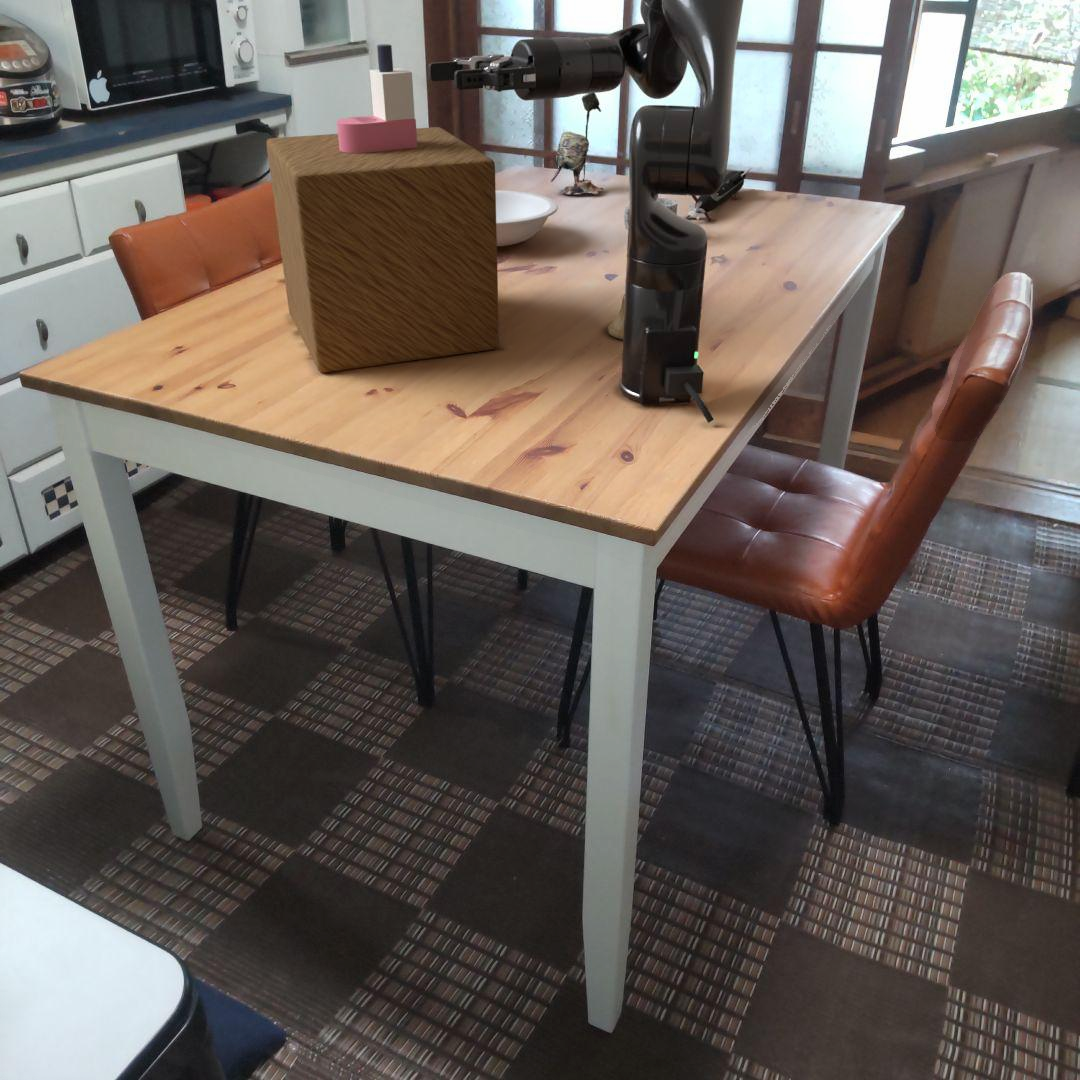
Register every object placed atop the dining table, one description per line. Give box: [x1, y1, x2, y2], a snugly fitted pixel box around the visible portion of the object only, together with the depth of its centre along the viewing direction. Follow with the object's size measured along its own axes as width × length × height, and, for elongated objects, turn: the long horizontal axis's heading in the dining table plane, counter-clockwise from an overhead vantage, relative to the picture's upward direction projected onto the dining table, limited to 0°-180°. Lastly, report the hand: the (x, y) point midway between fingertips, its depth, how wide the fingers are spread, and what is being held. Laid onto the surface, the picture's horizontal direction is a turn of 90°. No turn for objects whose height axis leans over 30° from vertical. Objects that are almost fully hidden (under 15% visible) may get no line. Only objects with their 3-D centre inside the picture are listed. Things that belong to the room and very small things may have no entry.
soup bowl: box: [496, 189, 559, 247], centre depth 183 cm, size 24×24×7 cm
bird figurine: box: [550, 93, 604, 196], centre depth 212 cm, size 8×11×20 cm
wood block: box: [266, 126, 500, 373], centre depth 139 cm, size 25×25×25 cm
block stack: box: [336, 43, 417, 153], centre depth 129 cm, size 10×5×12 cm, turn 118°
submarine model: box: [685, 168, 752, 223], centre depth 205 cm, size 31×7×10 cm
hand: (442, 76), depth 132 cm, fingers open, 8 cm apart
